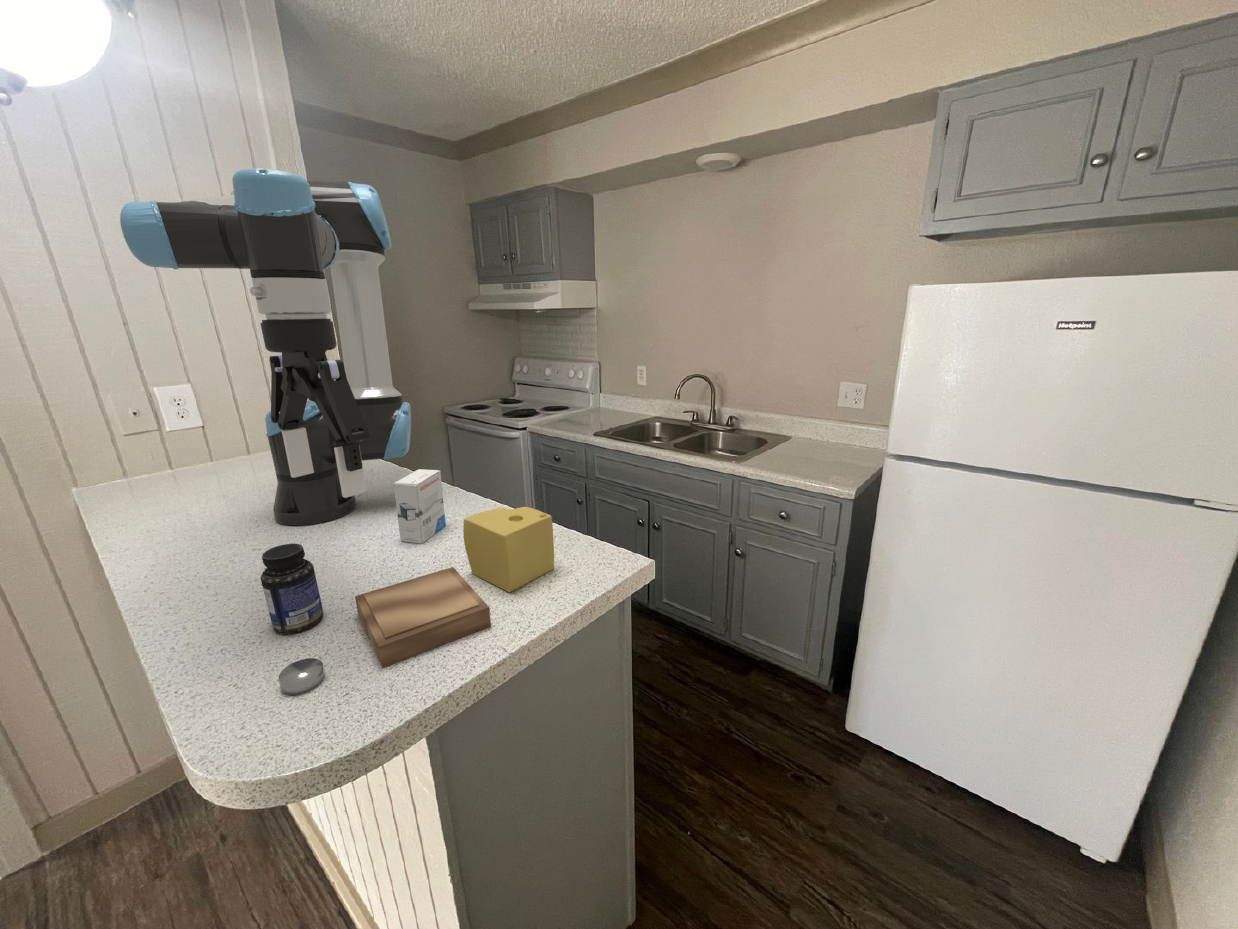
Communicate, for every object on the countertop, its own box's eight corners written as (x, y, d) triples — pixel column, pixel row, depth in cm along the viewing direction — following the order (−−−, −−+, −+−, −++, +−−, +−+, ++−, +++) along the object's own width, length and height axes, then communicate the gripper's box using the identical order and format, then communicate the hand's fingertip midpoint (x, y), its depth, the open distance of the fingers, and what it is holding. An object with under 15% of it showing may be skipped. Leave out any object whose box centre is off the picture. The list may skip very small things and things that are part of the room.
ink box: (425, 523, 104) (418, 468, 100) (448, 525, 103) (441, 469, 99) (399, 542, 96) (391, 482, 92) (424, 544, 95) (416, 484, 91)
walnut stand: (358, 614, 73) (354, 594, 72) (454, 583, 81) (452, 565, 80) (382, 667, 63) (378, 644, 62) (490, 626, 71) (489, 605, 70)
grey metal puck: (280, 680, 61) (276, 668, 60) (322, 665, 63) (319, 653, 63) (283, 703, 57) (280, 689, 57) (328, 686, 60) (325, 673, 59)
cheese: (516, 551, 92) (512, 499, 89) (558, 570, 85) (556, 514, 82) (466, 574, 84) (460, 518, 81) (509, 596, 78) (504, 536, 75)
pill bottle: (332, 609, 75) (318, 540, 71) (309, 635, 69) (293, 561, 66) (289, 610, 74) (273, 541, 71) (262, 636, 69) (244, 562, 65)
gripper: (219, 316, 66) (255, 474, 72) (315, 318, 52) (349, 513, 58) (283, 315, 72) (310, 461, 78) (384, 317, 58) (408, 494, 64)
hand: (327, 484), depth 68 cm, fingers open, 13 cm apart
